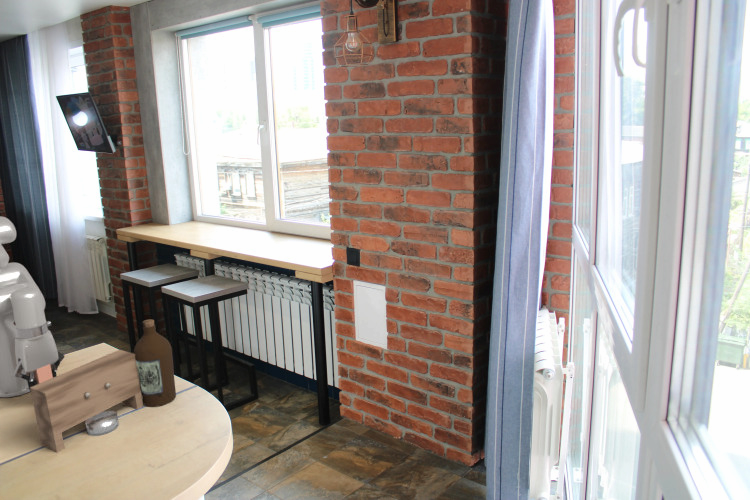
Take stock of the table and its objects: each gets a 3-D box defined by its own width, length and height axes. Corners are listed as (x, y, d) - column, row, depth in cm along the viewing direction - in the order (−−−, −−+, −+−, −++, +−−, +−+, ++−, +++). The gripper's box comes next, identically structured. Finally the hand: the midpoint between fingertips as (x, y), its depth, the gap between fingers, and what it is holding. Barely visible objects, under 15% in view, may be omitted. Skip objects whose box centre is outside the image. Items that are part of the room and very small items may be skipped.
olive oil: (151, 390, 178) (139, 314, 172) (183, 390, 177) (173, 314, 171) (134, 408, 167) (121, 328, 161) (169, 408, 166) (157, 327, 160)
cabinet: (41, 445, 150) (29, 387, 146) (128, 400, 172) (119, 349, 168) (59, 453, 146) (47, 394, 142) (145, 406, 168) (137, 354, 164)
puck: (81, 431, 157) (79, 421, 156) (108, 418, 163) (106, 408, 162) (97, 439, 152) (95, 428, 152) (124, 425, 159) (123, 415, 158)
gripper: (53, 319, 174) (64, 373, 179) (-6, 339, 160) (7, 398, 165) (68, 322, 171) (78, 378, 175) (8, 343, 157) (21, 403, 161)
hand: (44, 387), depth 170 cm, fingers open, 4 cm apart
